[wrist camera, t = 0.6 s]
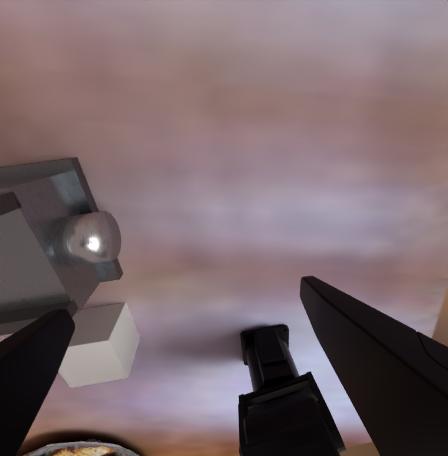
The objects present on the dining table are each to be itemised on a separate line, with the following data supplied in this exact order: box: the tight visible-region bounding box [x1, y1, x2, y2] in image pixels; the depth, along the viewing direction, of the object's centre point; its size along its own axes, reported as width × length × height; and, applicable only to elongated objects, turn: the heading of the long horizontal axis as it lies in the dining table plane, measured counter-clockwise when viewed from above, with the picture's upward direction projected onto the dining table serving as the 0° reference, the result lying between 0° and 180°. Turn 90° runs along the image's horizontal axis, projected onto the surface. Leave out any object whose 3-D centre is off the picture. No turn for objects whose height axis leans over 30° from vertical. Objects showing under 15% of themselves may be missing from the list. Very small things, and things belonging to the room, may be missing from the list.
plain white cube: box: [59, 302, 140, 388], centre depth 23 cm, size 6×6×5 cm
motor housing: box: [0, 158, 123, 335], centre depth 16 cm, size 12×14×8 cm
